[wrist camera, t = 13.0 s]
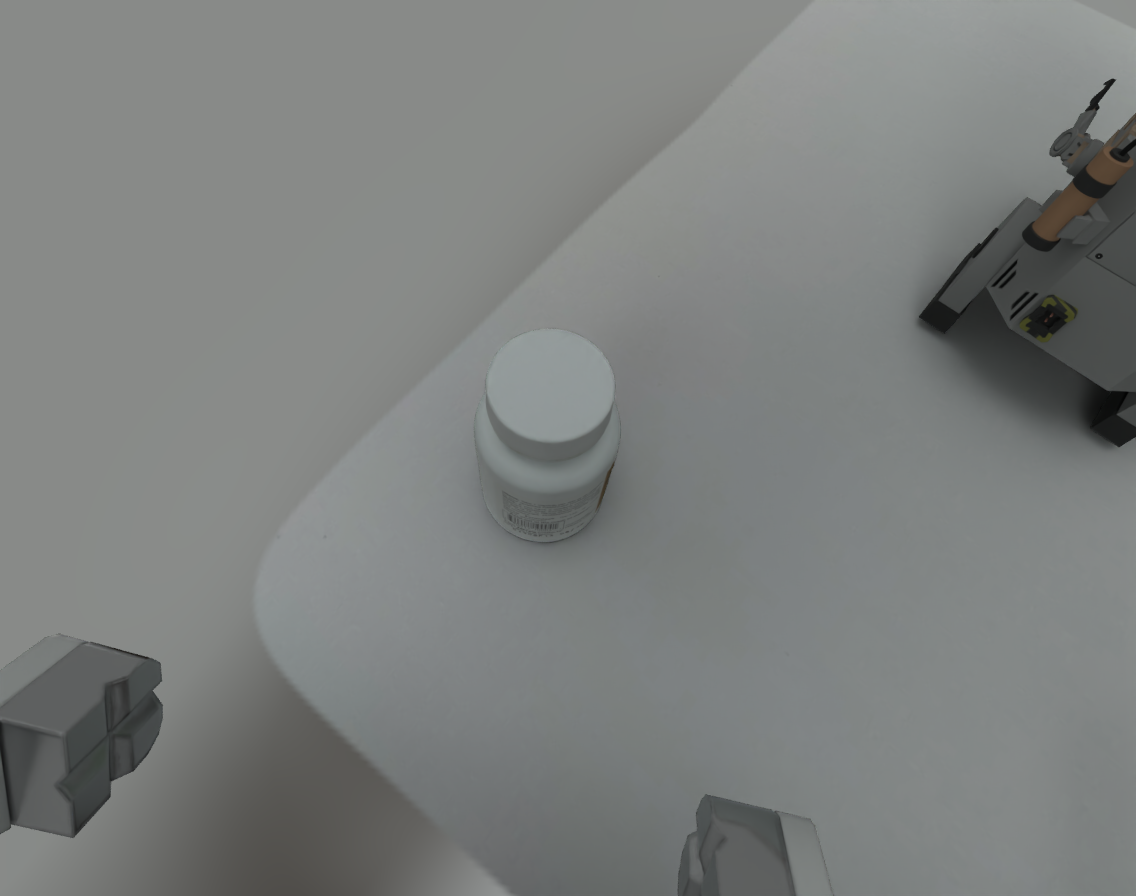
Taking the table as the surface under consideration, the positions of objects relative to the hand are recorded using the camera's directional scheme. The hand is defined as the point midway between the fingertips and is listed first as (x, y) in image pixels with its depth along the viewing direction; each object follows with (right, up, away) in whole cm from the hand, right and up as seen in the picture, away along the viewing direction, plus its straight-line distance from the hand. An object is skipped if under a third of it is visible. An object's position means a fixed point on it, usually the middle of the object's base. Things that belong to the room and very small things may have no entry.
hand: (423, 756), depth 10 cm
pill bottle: (+1, +3, +15) cm, 16 cm away
